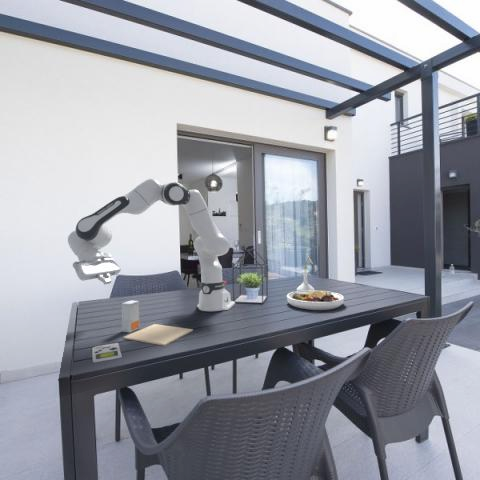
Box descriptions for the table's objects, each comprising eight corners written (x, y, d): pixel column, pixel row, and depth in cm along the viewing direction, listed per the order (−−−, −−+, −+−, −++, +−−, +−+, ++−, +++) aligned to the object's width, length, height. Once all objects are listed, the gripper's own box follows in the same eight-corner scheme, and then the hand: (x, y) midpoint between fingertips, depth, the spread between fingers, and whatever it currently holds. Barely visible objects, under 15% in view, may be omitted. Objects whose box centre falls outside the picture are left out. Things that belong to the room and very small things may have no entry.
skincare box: (130, 332, 129) (129, 304, 129) (121, 331, 131) (121, 303, 130) (139, 328, 135) (139, 300, 134) (131, 327, 136) (130, 300, 136)
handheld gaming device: (118, 342, 118) (122, 356, 104) (118, 344, 118) (122, 358, 104) (92, 346, 114) (92, 361, 100) (92, 348, 114) (92, 364, 100)
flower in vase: (310, 294, 195) (310, 254, 194) (293, 293, 201) (293, 254, 200) (317, 291, 206) (317, 253, 205) (301, 289, 212) (301, 252, 211)
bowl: (277, 301, 181) (277, 287, 181) (323, 296, 190) (323, 284, 190) (304, 314, 152) (304, 298, 152) (355, 308, 162) (355, 293, 161)
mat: (154, 325, 139) (154, 323, 139) (192, 330, 130) (192, 329, 130) (123, 338, 123) (123, 337, 123) (164, 345, 114) (164, 344, 114)
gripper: (74, 257, 131) (91, 282, 127) (113, 253, 149) (129, 275, 146) (67, 267, 133) (84, 292, 129) (106, 262, 151) (122, 284, 148)
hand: (108, 283), depth 137 cm, fingers closed
